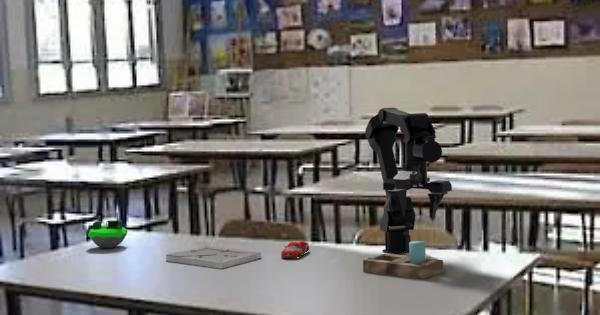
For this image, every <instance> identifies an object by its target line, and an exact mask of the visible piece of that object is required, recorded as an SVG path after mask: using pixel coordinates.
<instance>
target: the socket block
mask: <svg viewBox="0 0 600 315" xmlns="http://www.w3.org/2000/svg"><path fill="white" fill-rule="evenodd" d="M362 272H364V273H365V272H366V273H373V274H381V275H390V276H396V277H398V276H399V277H404V278H405V277H406V278H412V279H421V280H424V279H427V278H430V277H432V276H435V275H437V274H441V273H443V272H444V260H443V259H439V258H438V259H437V258H436V259H435V258H427V257H425V263H422V264H421V265H419V264H410V255H402V254H395V253H386V252H384V253H379V254H378V253H377V254H375V255H374V254H373V255H372V256H369V257H367V258H365V259H362Z"/></svg>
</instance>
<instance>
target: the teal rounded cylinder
mask: <svg viewBox="0 0 600 315" xmlns="http://www.w3.org/2000/svg"><path fill="white" fill-rule="evenodd" d="M408 252H409V256H410V264H419V265H421V264H422V263H425V258H426V242H425V241H423V240H421V241H420V240H413V241H412V240H411V242H409V251H408Z"/></svg>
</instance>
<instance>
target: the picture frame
mask: <svg viewBox="0 0 600 315" xmlns="http://www.w3.org/2000/svg"><path fill="white" fill-rule="evenodd" d="M258 258H260V259H262V252H260V251H254V250H245V249H244V250H243V249H236V248H235V249H234V248H228V247H220V246H219V247H218V246H211V245H210V246H209V245H203V246H200V247H195V248H191V249H186V250H182V251H175V252H171V253H167V254H166V255H165V260H166V262H172V263H178V264H179V263H180V264H186V265H192V266H202V267H208V268H209V267H210V268H215V269H225V268H226V269H227V268H229V267H233V266H236V265H240V264H244V263H245V264H246V263H248V262H252V261H256V260H259V259H258ZM255 259H256V260H255Z"/></svg>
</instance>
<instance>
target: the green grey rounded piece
mask: <svg viewBox="0 0 600 315" xmlns="http://www.w3.org/2000/svg"><path fill="white" fill-rule="evenodd" d="M115 216H116V220H115V219H114V220H111V219H110V220H107V221H106V225H105V226H103V225H102V220H98V221H94V222H93V223H92V228H90V229H89V232H88V234H87V236H88V237H89V238H90V240H91V242H93V244H95V245H96V246H97V247H99V248H100V249H114V248H115V247H117V246H119V245H120V244H121V243H123V241H124V239H125V238H126V236H127V235H128V229H127V228H125V227H124V226H123V225H124V224H123V220H121V219H119V213H118V212H116V215H115Z"/></svg>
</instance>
